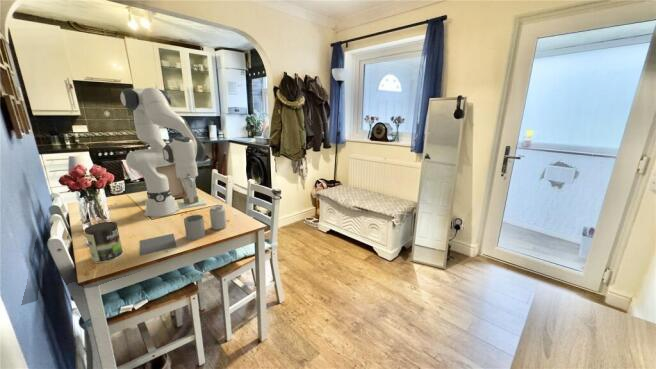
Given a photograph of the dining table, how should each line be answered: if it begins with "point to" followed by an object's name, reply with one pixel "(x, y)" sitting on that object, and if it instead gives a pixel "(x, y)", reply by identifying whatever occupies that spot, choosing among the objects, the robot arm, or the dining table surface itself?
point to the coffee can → (104, 241)
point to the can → (217, 217)
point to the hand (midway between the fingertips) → (191, 200)
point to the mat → (157, 244)
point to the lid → (186, 204)
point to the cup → (194, 227)
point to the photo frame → (173, 180)
